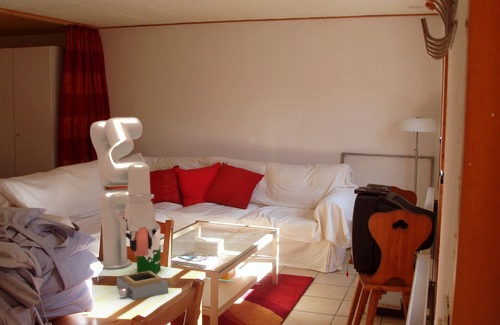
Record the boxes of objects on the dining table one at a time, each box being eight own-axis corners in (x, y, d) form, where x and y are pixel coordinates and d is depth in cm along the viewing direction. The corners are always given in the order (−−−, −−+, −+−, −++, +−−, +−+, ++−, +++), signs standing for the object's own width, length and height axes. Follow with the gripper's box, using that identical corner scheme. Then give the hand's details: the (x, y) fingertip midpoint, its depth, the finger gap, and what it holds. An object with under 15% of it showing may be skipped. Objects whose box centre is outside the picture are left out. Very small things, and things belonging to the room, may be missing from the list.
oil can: (132, 254, 195) (130, 218, 194) (145, 251, 198) (144, 216, 196) (137, 257, 191) (136, 220, 190) (150, 254, 193) (149, 218, 192)
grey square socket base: (109, 289, 197) (108, 275, 197) (150, 281, 206) (150, 268, 205) (124, 301, 184) (123, 287, 183) (168, 292, 192) (167, 279, 192)
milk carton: (142, 268, 223) (141, 219, 221) (163, 269, 221) (162, 220, 219) (134, 274, 214) (132, 224, 212) (155, 275, 213) (154, 225, 211)
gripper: (157, 195, 200) (159, 244, 202) (112, 199, 191) (114, 251, 193) (166, 197, 194) (167, 248, 196) (119, 202, 185) (121, 255, 186)
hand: (141, 249), depth 194 cm, fingers closed on oil can, 5 cm apart
